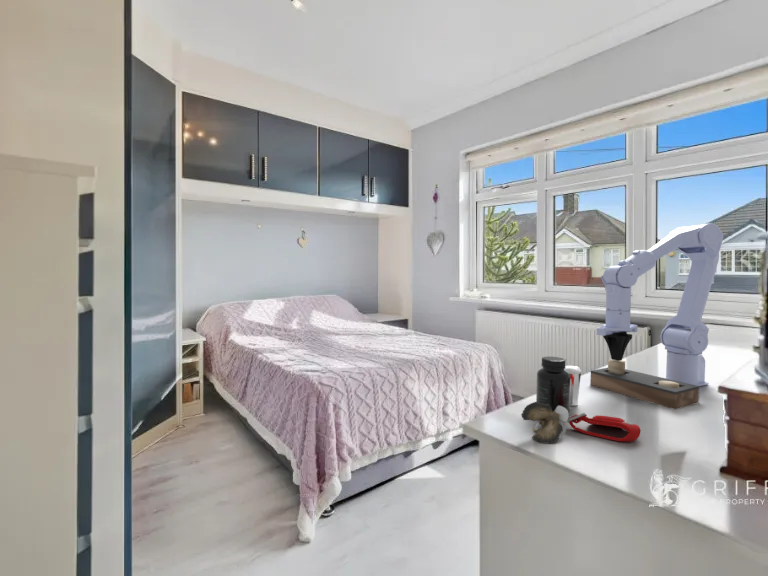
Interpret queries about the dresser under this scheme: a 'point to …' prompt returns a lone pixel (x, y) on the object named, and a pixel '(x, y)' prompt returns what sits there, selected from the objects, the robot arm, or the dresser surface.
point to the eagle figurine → (545, 421)
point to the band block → (646, 388)
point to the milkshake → (573, 382)
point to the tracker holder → (607, 421)
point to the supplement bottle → (553, 383)
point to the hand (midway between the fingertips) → (616, 359)
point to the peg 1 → (616, 367)
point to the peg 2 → (669, 384)
